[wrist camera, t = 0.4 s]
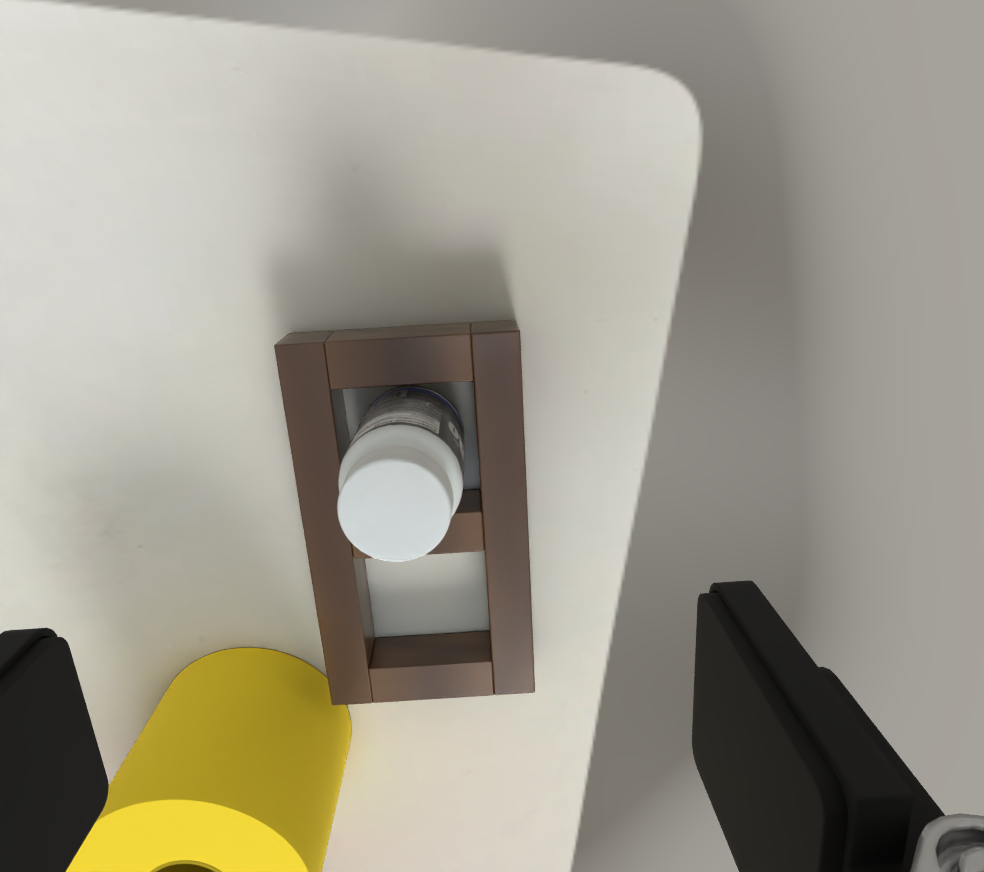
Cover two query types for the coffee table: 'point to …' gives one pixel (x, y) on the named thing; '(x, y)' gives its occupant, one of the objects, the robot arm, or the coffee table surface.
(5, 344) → the coffee table surface
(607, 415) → the coffee table surface
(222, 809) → the yellow toilet paper roll
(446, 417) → the pill bottle
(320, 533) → the holder
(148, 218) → the coffee table surface
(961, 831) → the robot arm
